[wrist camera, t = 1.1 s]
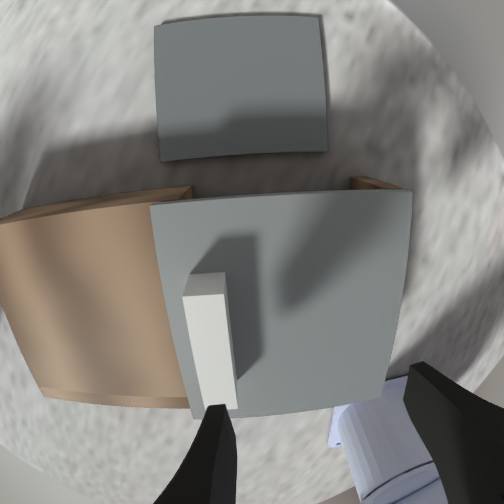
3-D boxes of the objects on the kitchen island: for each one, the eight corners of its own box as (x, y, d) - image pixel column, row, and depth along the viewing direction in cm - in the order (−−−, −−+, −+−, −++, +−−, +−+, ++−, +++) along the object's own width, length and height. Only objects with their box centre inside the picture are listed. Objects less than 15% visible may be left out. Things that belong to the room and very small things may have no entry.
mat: (315, 20, 14) (317, 17, 14) (325, 150, 17) (328, 151, 16) (156, 29, 14) (154, 25, 13) (162, 161, 16) (160, 162, 16)
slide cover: (406, 189, 13) (438, 200, 10) (376, 391, 17) (392, 420, 14) (153, 203, 12) (134, 217, 10) (194, 411, 16) (190, 445, 14)
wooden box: (366, 176, 17) (403, 188, 13) (353, 347, 21) (375, 388, 17) (21, 209, 17) (-20, 228, 12) (66, 359, 21) (44, 396, 16)
